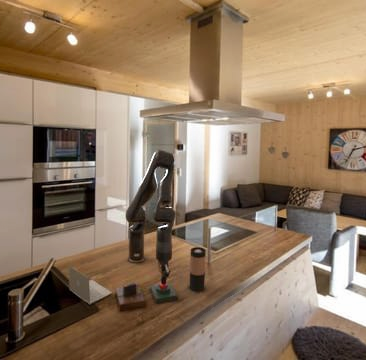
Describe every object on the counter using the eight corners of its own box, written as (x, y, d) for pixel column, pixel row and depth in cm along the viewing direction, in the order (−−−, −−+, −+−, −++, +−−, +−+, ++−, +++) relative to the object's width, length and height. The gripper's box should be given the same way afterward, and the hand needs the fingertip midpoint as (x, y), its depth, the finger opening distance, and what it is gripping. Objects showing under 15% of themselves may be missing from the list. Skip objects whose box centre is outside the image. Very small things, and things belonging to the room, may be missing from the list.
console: (116, 293, 135) (115, 287, 134) (138, 290, 138) (138, 284, 138) (119, 311, 121) (119, 304, 121) (144, 306, 125) (144, 300, 124)
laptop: (112, 294, 134) (112, 268, 132) (89, 305, 125) (88, 278, 123) (91, 280, 146) (91, 257, 144) (69, 290, 137) (68, 265, 135)
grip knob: (135, 291, 132) (135, 281, 131) (136, 293, 130) (136, 283, 129) (123, 294, 128) (122, 285, 128) (124, 296, 127) (124, 286, 126)
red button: (158, 286, 135) (158, 282, 135) (165, 285, 137) (165, 281, 136) (160, 290, 132) (160, 286, 132) (167, 288, 133) (168, 285, 133)
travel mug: (186, 285, 143) (187, 248, 141) (200, 282, 146) (201, 246, 143) (193, 293, 137) (194, 254, 134) (207, 290, 140) (208, 251, 137)
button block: (150, 289, 139) (150, 282, 138) (169, 286, 142) (169, 279, 141) (156, 303, 128) (156, 295, 127) (177, 299, 131) (177, 291, 130)
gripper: (176, 253, 126) (175, 289, 129) (167, 243, 139) (167, 276, 141) (160, 255, 124) (159, 292, 127) (152, 244, 136) (152, 278, 139)
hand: (163, 283), depth 134 cm, fingers closed
